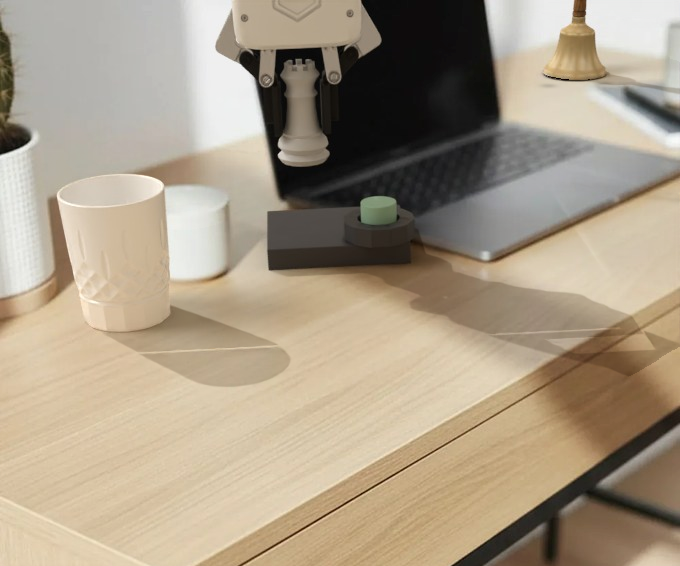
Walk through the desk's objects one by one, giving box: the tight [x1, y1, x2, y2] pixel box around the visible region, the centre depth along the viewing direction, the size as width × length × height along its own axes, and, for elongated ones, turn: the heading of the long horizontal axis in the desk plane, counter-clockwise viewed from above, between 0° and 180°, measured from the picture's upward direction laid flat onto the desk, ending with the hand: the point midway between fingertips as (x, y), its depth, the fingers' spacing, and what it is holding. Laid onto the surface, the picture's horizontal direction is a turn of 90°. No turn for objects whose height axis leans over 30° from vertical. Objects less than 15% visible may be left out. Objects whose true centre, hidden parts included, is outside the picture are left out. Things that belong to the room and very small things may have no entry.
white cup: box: [56, 173, 171, 333], centre depth 91 cm, size 8×8×10 cm
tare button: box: [360, 195, 397, 225], centre depth 101 cm, size 3×3×2 cm
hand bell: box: [542, 0, 607, 81], centre depth 153 cm, size 8×8×16 cm
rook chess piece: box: [277, 58, 330, 168], centre depth 100 cm, size 4×4×8 cm
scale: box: [266, 204, 416, 271], centre depth 104 cm, size 12×11×4 cm
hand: (302, 128), depth 101 cm, fingers closed on rook chess piece, 3 cm apart
